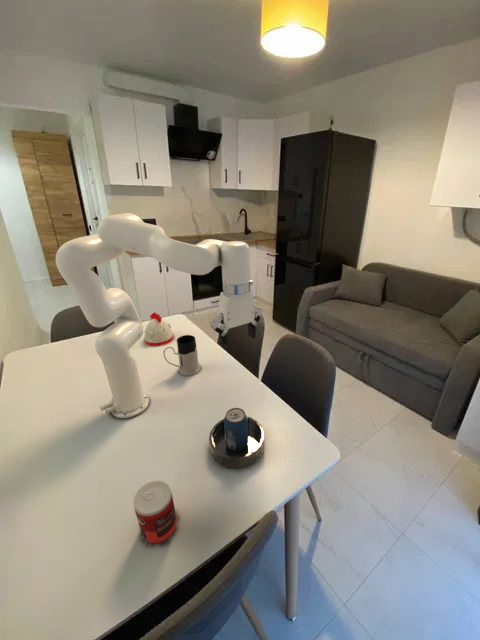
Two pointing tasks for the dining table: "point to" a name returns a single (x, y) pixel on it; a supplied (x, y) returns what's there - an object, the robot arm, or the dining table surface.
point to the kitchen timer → (158, 331)
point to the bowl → (242, 457)
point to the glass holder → (186, 355)
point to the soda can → (236, 429)
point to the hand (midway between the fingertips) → (238, 340)
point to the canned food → (155, 511)
